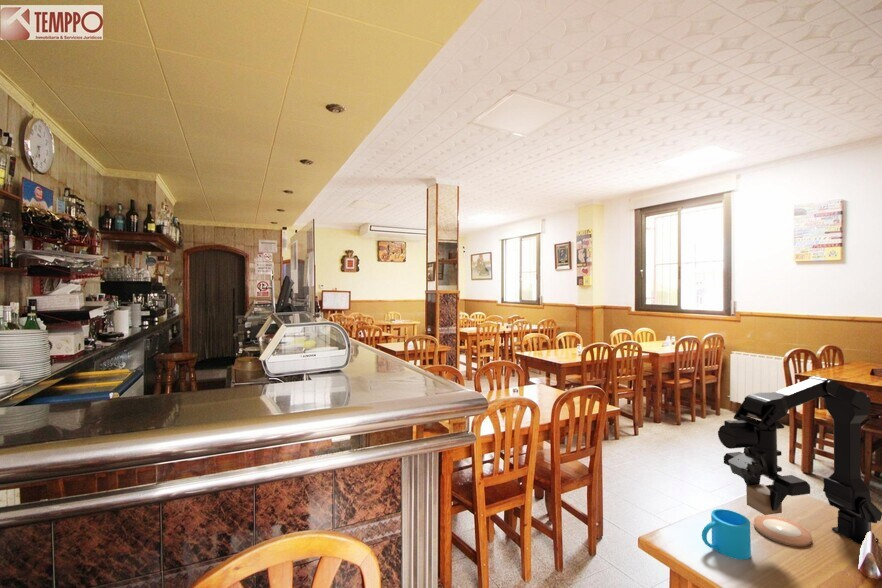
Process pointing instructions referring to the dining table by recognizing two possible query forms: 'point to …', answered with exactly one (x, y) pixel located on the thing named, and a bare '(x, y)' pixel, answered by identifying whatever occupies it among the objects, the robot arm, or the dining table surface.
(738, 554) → the mug
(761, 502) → the walnut block
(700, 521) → the dining table surface
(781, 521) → the terracotta dish
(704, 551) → the dining table surface
